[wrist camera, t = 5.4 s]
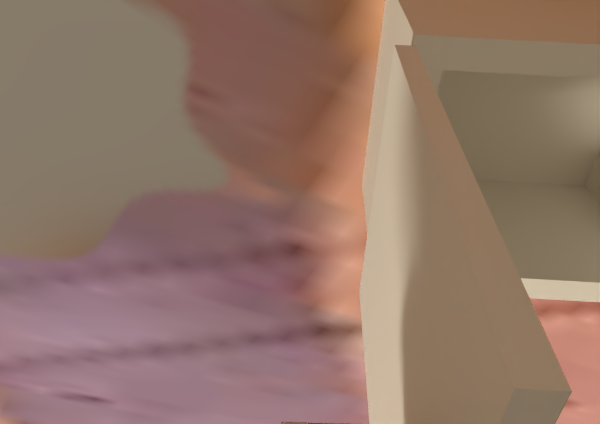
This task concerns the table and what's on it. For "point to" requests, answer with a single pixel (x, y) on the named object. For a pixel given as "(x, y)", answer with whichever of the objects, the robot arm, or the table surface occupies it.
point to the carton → (515, 123)
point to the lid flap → (444, 282)
